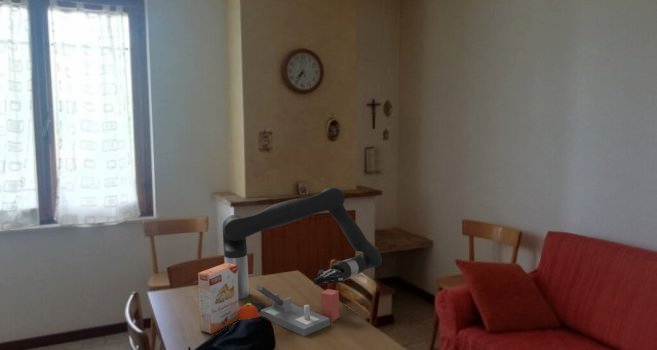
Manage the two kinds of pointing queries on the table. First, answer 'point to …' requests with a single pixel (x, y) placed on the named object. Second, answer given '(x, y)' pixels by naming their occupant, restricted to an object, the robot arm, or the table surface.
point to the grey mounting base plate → (295, 317)
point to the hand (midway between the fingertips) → (315, 282)
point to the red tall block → (330, 304)
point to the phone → (258, 306)
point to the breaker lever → (270, 295)
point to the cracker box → (218, 297)
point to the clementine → (248, 311)
